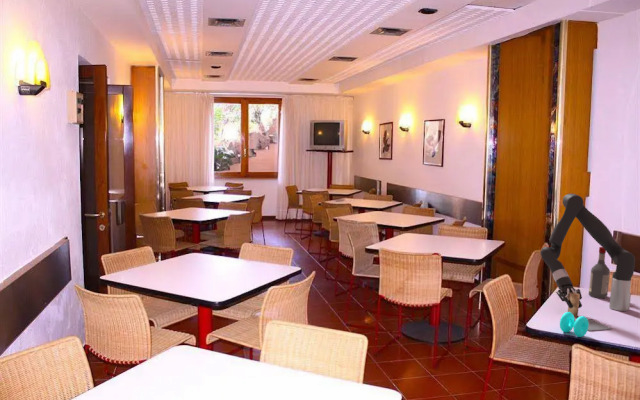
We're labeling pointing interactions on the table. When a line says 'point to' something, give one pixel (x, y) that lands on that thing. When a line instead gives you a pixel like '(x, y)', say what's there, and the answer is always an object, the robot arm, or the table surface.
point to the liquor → (599, 277)
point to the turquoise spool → (574, 324)
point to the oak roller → (574, 303)
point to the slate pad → (596, 326)
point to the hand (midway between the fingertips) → (575, 307)
